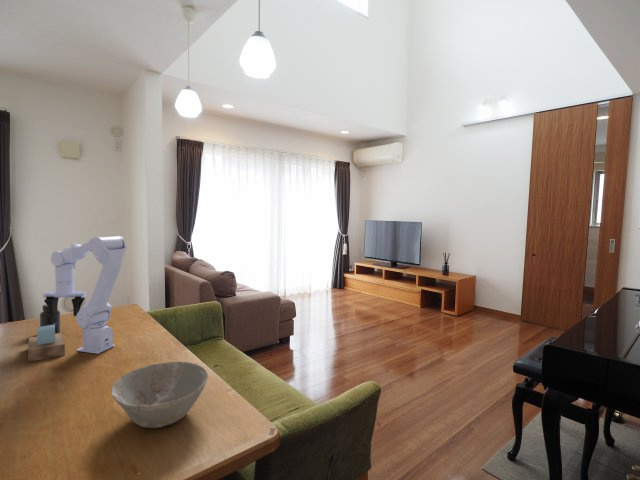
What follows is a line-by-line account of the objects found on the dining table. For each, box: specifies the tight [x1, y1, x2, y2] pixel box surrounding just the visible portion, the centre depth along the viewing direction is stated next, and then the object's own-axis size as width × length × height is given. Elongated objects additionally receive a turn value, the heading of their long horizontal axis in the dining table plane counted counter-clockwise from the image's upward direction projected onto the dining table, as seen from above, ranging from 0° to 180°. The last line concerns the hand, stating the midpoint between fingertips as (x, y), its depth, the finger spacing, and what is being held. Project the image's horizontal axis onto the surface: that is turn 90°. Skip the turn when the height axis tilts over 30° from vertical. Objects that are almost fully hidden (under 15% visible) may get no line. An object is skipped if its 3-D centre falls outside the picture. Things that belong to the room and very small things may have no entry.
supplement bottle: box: [39, 303, 61, 334], centre depth 143 cm, size 7×7×12 cm
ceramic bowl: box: [111, 361, 209, 429], centre depth 88 cm, size 22×23×10 cm
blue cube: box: [36, 325, 55, 345], centre depth 124 cm, size 5×5×5 cm
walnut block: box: [27, 332, 66, 362], centre depth 125 cm, size 10×14×4 cm
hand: (65, 315), depth 134 cm, fingers open, 7 cm apart
